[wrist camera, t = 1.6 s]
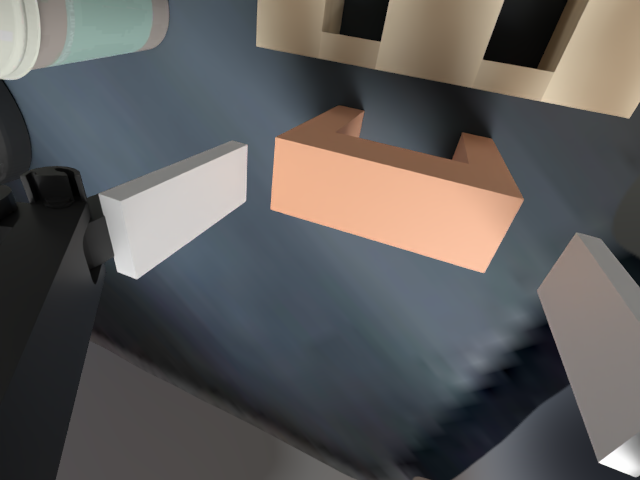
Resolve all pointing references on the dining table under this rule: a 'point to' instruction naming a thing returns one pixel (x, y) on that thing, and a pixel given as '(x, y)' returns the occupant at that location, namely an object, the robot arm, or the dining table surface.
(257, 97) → the dining table surface
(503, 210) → the clip
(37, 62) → the coffee cup
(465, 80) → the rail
